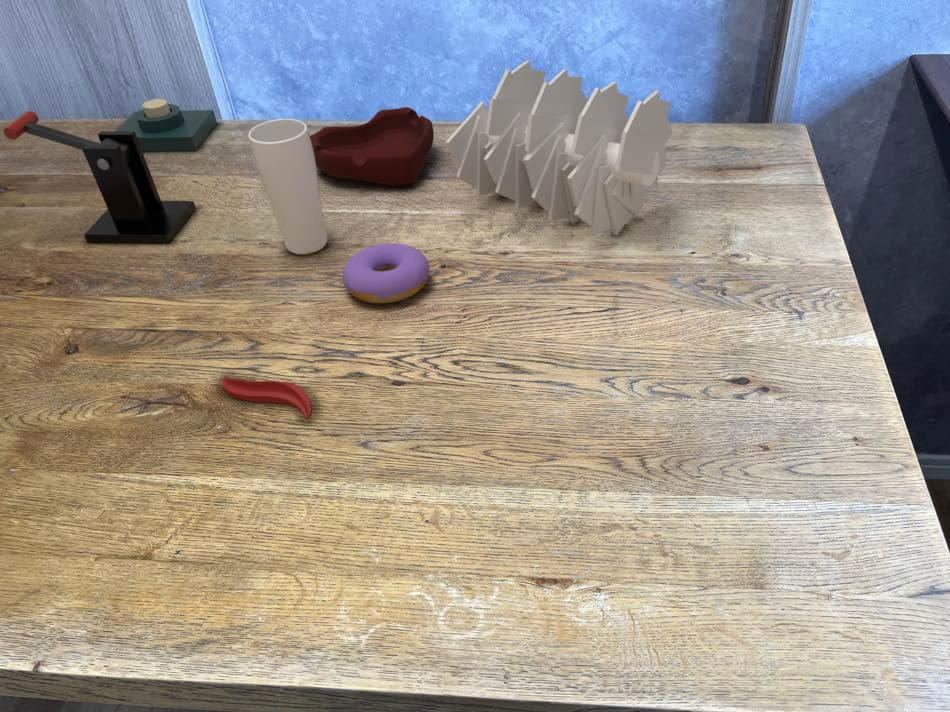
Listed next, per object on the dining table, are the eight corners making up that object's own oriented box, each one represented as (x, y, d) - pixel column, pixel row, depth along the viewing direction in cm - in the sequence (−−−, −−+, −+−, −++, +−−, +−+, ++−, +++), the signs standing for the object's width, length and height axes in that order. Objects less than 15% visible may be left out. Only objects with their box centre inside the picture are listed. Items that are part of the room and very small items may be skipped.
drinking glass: (336, 254, 101) (309, 138, 91) (280, 263, 100) (247, 147, 90) (332, 227, 106) (306, 114, 96) (279, 236, 105) (246, 122, 95)
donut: (420, 252, 100) (417, 222, 96) (439, 306, 95) (437, 276, 91) (339, 269, 98) (332, 238, 94) (353, 324, 92) (347, 294, 89)
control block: (113, 151, 125) (102, 126, 122) (139, 124, 132) (130, 100, 130) (196, 150, 124) (187, 125, 122) (217, 123, 132) (209, 98, 129)
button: (142, 119, 125) (138, 108, 124) (151, 110, 127) (147, 99, 126) (165, 119, 125) (161, 107, 123) (174, 109, 127) (170, 98, 126)
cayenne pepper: (326, 406, 80) (321, 391, 79) (288, 432, 77) (284, 418, 76) (250, 361, 86) (245, 346, 84) (213, 384, 83) (207, 369, 82)
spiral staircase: (512, 202, 117) (667, 242, 106) (432, 199, 103) (601, 245, 91) (535, 67, 111) (701, 93, 100) (452, 44, 97) (636, 72, 85)
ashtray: (355, 210, 109) (348, 175, 106) (304, 167, 119) (295, 134, 116) (467, 170, 117) (464, 136, 113) (410, 133, 126) (405, 101, 123)
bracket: (87, 242, 105) (47, 156, 97) (118, 208, 112) (83, 124, 104) (169, 243, 104) (135, 156, 96) (196, 208, 111) (166, 124, 103)
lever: (4, 140, 98) (1, 122, 97) (26, 123, 102) (24, 105, 100) (117, 175, 100) (116, 157, 99) (134, 156, 104) (134, 139, 102)
